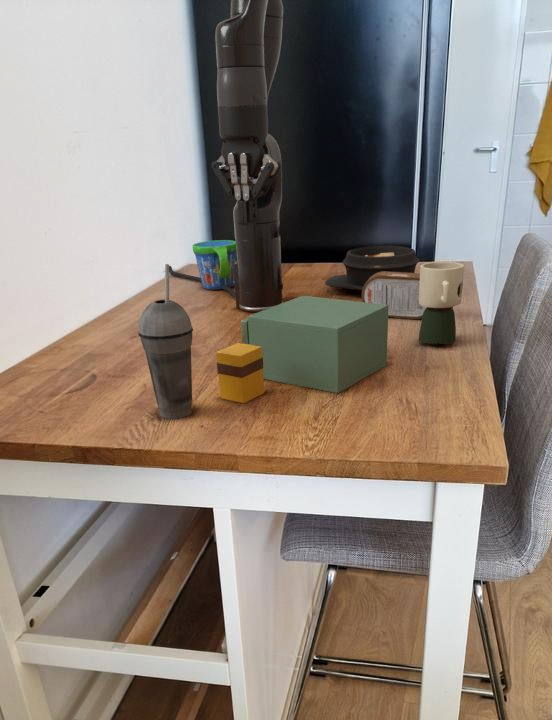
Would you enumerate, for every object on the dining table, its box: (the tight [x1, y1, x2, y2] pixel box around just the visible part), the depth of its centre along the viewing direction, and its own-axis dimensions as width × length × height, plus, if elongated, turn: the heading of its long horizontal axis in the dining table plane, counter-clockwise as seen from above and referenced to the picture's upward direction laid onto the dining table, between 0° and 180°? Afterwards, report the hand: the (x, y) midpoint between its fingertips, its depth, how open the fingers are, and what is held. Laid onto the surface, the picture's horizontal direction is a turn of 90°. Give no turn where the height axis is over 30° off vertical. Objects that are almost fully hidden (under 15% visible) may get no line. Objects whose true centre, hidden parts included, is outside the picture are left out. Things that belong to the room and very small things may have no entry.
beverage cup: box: [137, 263, 194, 420], centre depth 95 cm, size 7×7×20 cm
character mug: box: [418, 261, 465, 347], centre depth 119 cm, size 11×7×13 cm, turn 179°
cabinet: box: [247, 295, 389, 394], centre depth 110 cm, size 16×15×10 cm
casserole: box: [324, 245, 420, 294], centre depth 159 cm, size 25×19×8 cm
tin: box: [361, 271, 427, 320], centre depth 137 cm, size 15×3×8 cm, turn 65°
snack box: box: [215, 342, 265, 404], centre depth 103 cm, size 5×4×7 cm
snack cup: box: [192, 239, 237, 291], centre depth 169 cm, size 16×10×10 cm
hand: (247, 224), depth 116 cm, fingers closed
